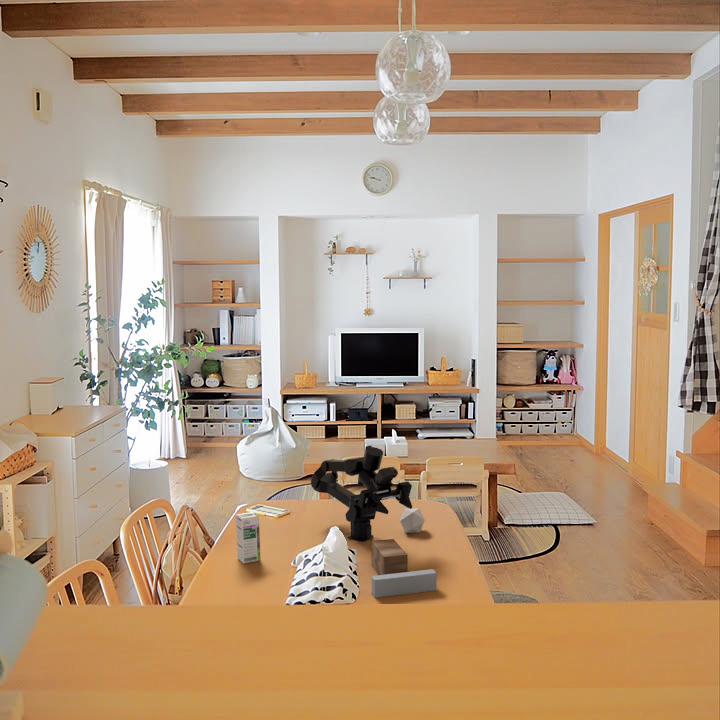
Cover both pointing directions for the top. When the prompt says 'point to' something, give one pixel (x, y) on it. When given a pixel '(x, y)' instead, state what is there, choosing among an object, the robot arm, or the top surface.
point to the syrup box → (248, 537)
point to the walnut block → (388, 557)
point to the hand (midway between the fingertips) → (399, 510)
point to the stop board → (404, 583)
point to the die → (412, 520)
